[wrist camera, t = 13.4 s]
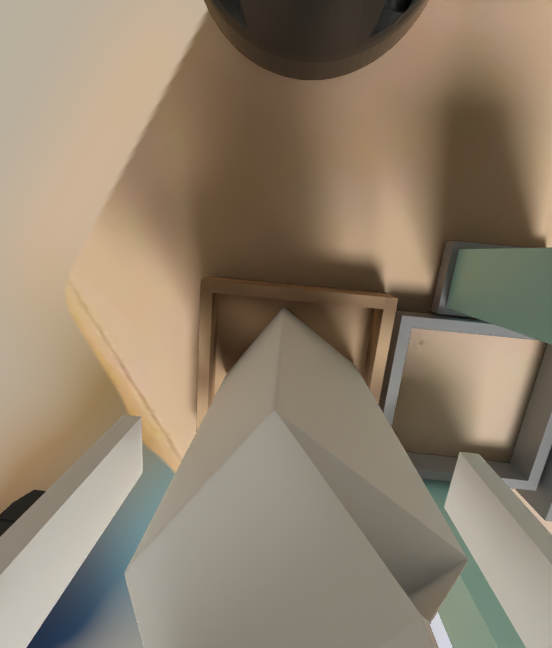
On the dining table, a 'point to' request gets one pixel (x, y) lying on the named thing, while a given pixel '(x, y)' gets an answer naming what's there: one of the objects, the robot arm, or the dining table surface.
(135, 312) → the dining table surface
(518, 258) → the holder
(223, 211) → the dining table surface
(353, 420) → the milk carton
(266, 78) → the dining table surface
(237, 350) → the tray
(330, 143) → the dining table surface
